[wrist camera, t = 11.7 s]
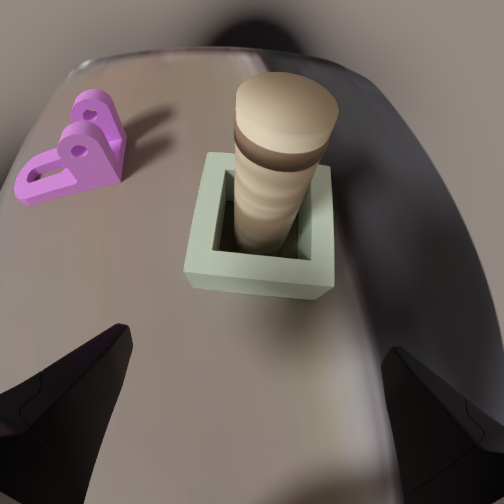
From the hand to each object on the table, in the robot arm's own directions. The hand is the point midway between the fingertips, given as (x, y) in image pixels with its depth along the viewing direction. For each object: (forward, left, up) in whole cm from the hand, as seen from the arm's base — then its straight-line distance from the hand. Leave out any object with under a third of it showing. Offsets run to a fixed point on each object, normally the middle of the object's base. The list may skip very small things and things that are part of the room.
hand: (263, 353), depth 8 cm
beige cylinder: (+2, +8, -9) cm, 12 cm away
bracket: (-15, +18, -10) cm, 25 cm away
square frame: (+2, +8, -9) cm, 12 cm away
